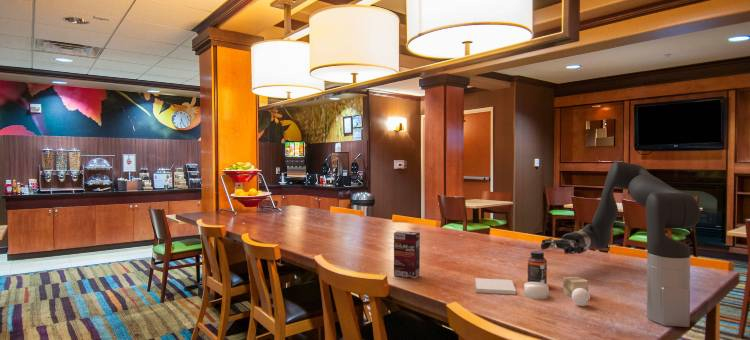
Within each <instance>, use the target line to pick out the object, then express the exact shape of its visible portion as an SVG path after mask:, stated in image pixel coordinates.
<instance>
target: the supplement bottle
mask: <svg viewBox="0 0 750 340" xmlns="http://www.w3.org/2000/svg"><path fill="white" fill-rule="evenodd" d="M544 254H545V252H543V250H542V251H540V250H531V251H530V257H528V259H527V282H541V283H545V284H547V278H548V277H547V276H548V273H547V271H548V270H547V269H548V268H547V267H548V264H547V263H548V260H547V259H546V258H545V255H544ZM547 285H548V284H547Z"/></svg>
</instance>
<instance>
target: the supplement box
mask: <svg viewBox="0 0 750 340" xmlns="http://www.w3.org/2000/svg"><path fill="white" fill-rule="evenodd" d="M420 233H421V232H419V231H418V232H417V231H405V230H404V231H403V230H397V231H395V232H393V276H394V277H399V276H402V278H407V277H411V278H410V279H414V278H415V279H417V278H418V277H419V276H420V268H421V267H420V262H421V261H420V256H421V255H420V253H421V252H420V251H421V249H420V248H421V245H420V244H421V241H420V240H421V234H420ZM416 277H417V278H416Z"/></svg>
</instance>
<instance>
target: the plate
mask: <svg viewBox="0 0 750 340" xmlns="http://www.w3.org/2000/svg"><path fill="white" fill-rule="evenodd" d="M474 283H475V292H476V293H479V294H480V293H483V294H484V293H485V294H500V295H501V294H502V295H517V289H516V287H515V285H514V282H513V280H512V279H502V278H501V279H498V278H495V279H494V278H478V277H475V278H474Z"/></svg>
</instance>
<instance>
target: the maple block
mask: <svg viewBox="0 0 750 340" xmlns="http://www.w3.org/2000/svg"><path fill="white" fill-rule="evenodd" d="M562 282H563V283H562V284H563V286H562V287H563V292H562V293H563V294H564V295H567V296H569V297H571V298H572V292H573V291H574V290H575V289H577V288H583V289H585V290H587V291H588V292H589V280H587V279H584V278H582V277H580V276H566V277H563V280H562Z"/></svg>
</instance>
